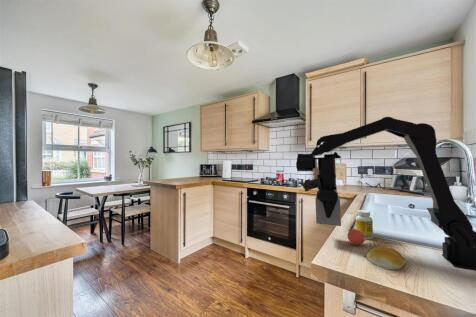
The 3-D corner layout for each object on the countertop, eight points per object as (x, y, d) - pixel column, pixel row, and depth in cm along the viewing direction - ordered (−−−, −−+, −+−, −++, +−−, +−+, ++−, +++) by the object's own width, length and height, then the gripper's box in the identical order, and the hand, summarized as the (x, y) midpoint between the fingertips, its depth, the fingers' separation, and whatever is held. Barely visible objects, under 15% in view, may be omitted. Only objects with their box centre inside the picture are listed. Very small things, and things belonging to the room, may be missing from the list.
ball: (363, 242, 68) (363, 228, 68) (366, 248, 64) (365, 233, 64) (347, 240, 70) (346, 226, 70) (348, 246, 66) (347, 231, 66)
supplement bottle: (360, 233, 77) (359, 208, 77) (375, 237, 73) (375, 211, 73) (353, 236, 74) (352, 210, 74) (369, 240, 70) (368, 213, 70)
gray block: (317, 217, 76) (316, 194, 76) (340, 219, 73) (339, 195, 73) (316, 223, 69) (315, 198, 69) (341, 226, 66) (340, 199, 66)
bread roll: (407, 262, 56) (407, 248, 56) (399, 274, 50) (399, 259, 50) (373, 252, 62) (372, 239, 62) (363, 262, 56) (362, 248, 56)
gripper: (306, 170, 83) (307, 207, 83) (300, 173, 66) (301, 219, 66) (335, 169, 78) (337, 209, 78) (337, 173, 61) (339, 223, 61)
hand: (328, 214), depth 71 cm, fingers closed on gray block, 8 cm apart
